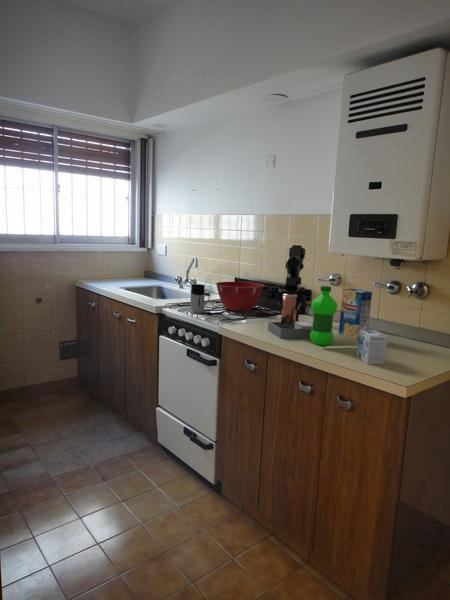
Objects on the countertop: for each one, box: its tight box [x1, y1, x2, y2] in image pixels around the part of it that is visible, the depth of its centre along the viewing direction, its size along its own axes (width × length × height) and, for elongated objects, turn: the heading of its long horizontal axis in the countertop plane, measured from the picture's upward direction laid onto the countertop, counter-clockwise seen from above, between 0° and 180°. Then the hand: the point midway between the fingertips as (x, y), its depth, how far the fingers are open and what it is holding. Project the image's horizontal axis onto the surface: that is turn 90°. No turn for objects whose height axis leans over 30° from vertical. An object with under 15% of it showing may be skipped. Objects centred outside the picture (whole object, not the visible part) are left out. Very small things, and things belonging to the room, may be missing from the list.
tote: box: [267, 321, 313, 340], centre depth 192 cm, size 20×15×5 cm
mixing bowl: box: [215, 281, 265, 312], centre depth 250 cm, size 28×28×16 cm
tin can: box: [280, 293, 297, 324], centre depth 190 cm, size 6×6×13 cm
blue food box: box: [338, 288, 373, 341], centre depth 193 cm, size 7×11×22 cm, turn 34°
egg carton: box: [294, 321, 313, 329], centre depth 193 cm, size 6×9×5 cm
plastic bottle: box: [309, 285, 338, 348], centre depth 176 cm, size 10×10×25 cm
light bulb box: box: [356, 329, 388, 366], centre depth 159 cm, size 11×7×11 cm, turn 5°
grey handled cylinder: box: [189, 283, 211, 314], centre depth 236 cm, size 9×14×15 cm, turn 46°
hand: (288, 308), depth 188 cm, fingers closed on tin can, 6 cm apart
